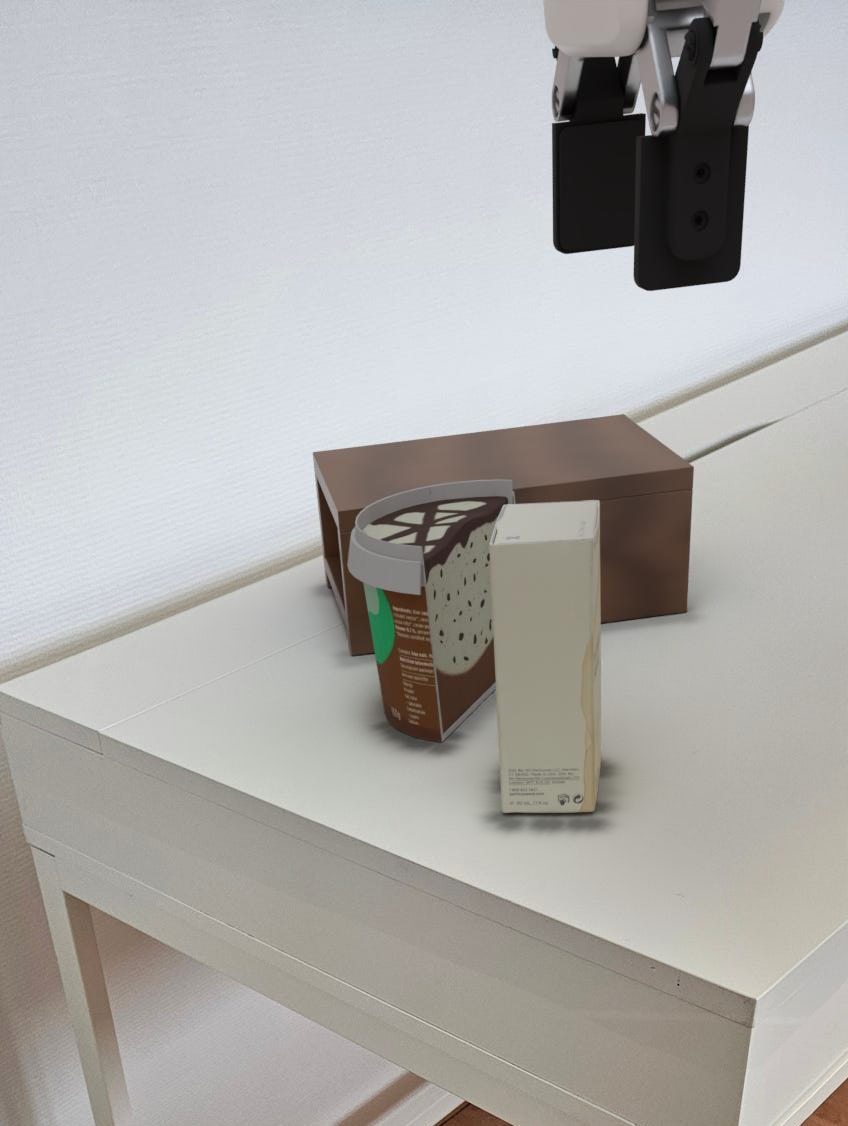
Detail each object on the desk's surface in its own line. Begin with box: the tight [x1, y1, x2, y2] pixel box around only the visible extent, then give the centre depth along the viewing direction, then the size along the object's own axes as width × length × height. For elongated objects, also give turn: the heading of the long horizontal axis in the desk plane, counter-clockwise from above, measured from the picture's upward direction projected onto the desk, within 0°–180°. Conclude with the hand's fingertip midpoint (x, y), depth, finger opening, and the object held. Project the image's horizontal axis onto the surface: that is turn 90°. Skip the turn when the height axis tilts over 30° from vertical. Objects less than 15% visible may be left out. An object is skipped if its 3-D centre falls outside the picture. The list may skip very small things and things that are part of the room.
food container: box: [347, 480, 516, 743], centre depth 72 cm, size 12×6×10 cm, turn 154°
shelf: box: [312, 413, 695, 656], centre depth 85 cm, size 20×14×8 cm
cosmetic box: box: [489, 500, 602, 814], centre depth 62 cm, size 6×4×12 cm
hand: (638, 265), depth 47 cm, fingers open, 9 cm apart
